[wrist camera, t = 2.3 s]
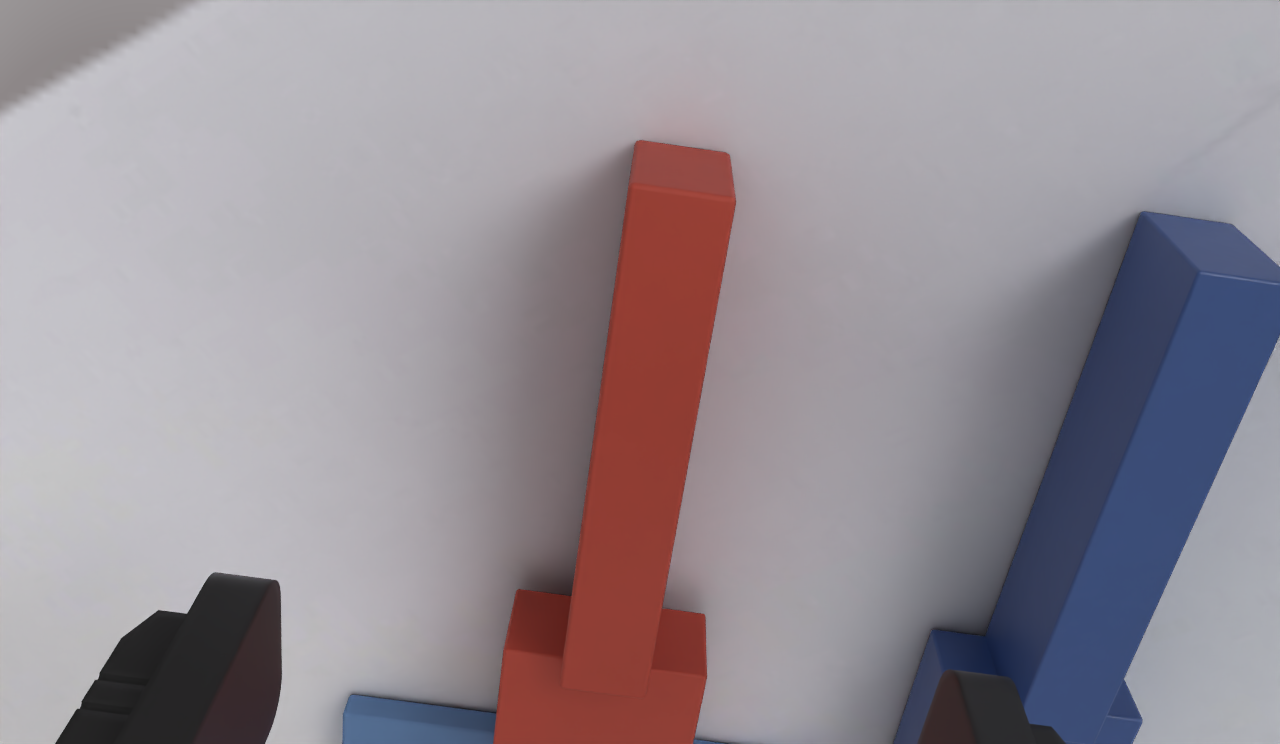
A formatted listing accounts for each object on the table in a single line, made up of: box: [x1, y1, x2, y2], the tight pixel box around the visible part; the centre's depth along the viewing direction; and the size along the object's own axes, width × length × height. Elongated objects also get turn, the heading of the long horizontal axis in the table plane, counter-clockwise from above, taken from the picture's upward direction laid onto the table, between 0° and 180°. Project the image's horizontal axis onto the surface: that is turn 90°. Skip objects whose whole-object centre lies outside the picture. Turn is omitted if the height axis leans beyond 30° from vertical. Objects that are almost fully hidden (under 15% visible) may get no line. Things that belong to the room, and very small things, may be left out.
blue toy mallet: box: [893, 211, 1280, 744], centre depth 20 cm, size 13×4×2 cm, turn 172°
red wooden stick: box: [493, 140, 736, 744], centre depth 20 cm, size 13×4×2 cm, turn 172°
